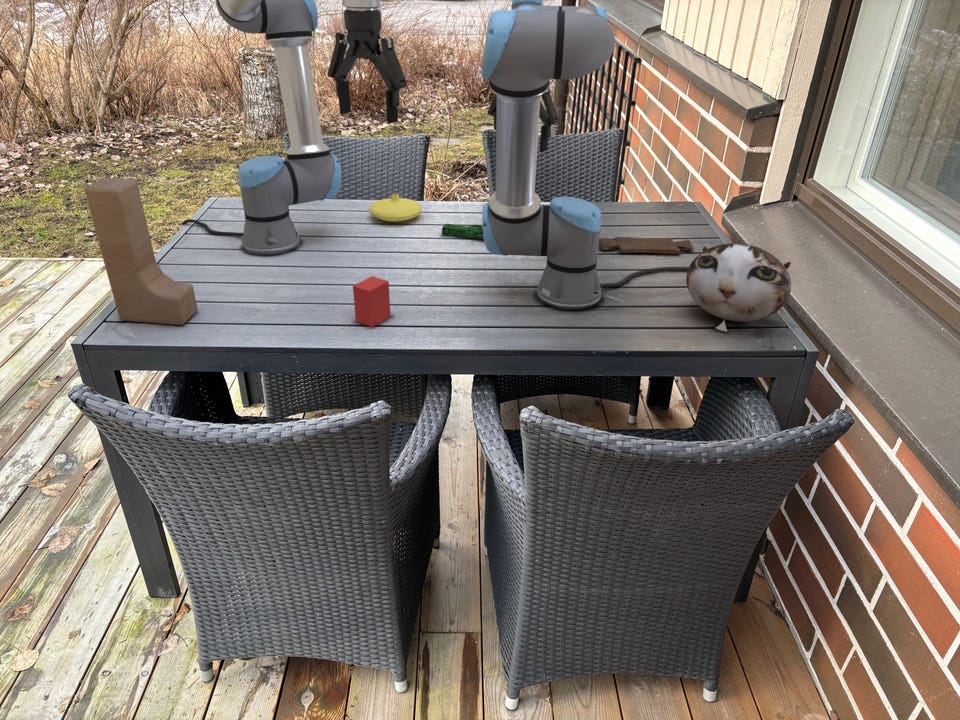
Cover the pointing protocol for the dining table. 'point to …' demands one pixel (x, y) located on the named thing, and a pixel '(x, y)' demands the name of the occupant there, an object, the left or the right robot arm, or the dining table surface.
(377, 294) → the block
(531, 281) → the dining table surface
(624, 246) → the dark wooden board
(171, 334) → the dining table surface
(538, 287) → the right robot arm
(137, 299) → the brown l-shaped piece
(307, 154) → the left robot arm
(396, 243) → the dining table surface
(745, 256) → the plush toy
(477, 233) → the handgun
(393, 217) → the yellow lid
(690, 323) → the dining table surface
